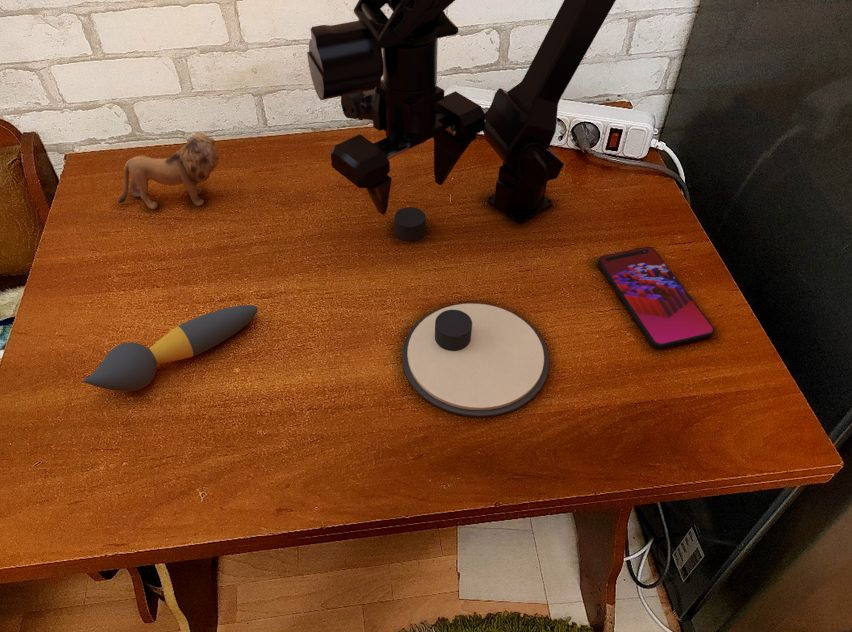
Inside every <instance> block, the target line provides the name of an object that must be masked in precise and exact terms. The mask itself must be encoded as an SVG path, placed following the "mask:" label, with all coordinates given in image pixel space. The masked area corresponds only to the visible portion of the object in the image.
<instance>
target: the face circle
mask: <svg viewBox="0 0 852 632" xmlns="http://www.w3.org/2000/svg"><path fill="white" fill-rule="evenodd" d="M447 310H460V311H462V312H464V313H466V314H467V315H468V316H469V317H470V318H471V320H472V332H471V341H470V343H469V344H468V346H467V347H465V348H464V349H462V350H458V351H449V350H445V349H443V348H441V347H440V346H439V345H438V344H437V343H436V341H435V321H436V318H437V316H438V315H439V314H440V313H442V312H444V311H447ZM401 362H402V368H403V372H404V374H405V375H404V376H405V377H406V379H407V381H408V383H409V384H410V385H411V388H413V390H414V391H415V392H416V393H417V394H418V395H419V396H420V397H421V398H422V399H424V401H426V402H427V403H429V404H430V405H432V406H433V407H436V408H438V409H440V410H441V411H444V412H447V413H449V414H453V415H456V416H460V417H467V418H491V417H492V418H493V417H498V416H503V415H505V414H508V413H511V412H515V411H516V410H519V409H521V408H523V406H526V405H527V404H528V403H529V402H531V401H532V400H533V399H534V398H535V397H536V396H537V395H538V394H539V392H541V390H542V388H543V386H544V385H545V383H546V380H547V378H548V374H549V369H550V357H549V352H548V348H547V345H546V343H545V341H544V339H543V338H542V336H541V334H540V333H539V332H538V330H537V328H535V327H534V326H533V325H532V324H531V323H530V322H528V321H527V320H526V319H525V318H523V317H522V316H521V315H519V314H517V313H515V312H513V311H512V310H509V309H507V308H504V307H500V306H498V305H494V304H490V303H483V302H462V303H461V302H460V303H454V304H450V305H445V306H442V307H440V308H438V309H434V310H433V311H431V312H429V313H427V314H426V315H424V316H423V317H421V318H420V319H419V320H418V321H417V322H416V323H415V324H414V325H413V326H412V327H411V328H410V330H409V332H408V333H407V335H406V337H405V339H404V342H403V345H402V350H401Z"/></svg>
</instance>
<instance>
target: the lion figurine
mask: <svg viewBox="0 0 852 632" xmlns="http://www.w3.org/2000/svg"><path fill="white" fill-rule="evenodd" d="M219 159H220V153H219V151H218V147H217V145H216V143H215V139H214V138H213V137H210V136H209V135H206V134H205V133H203V132H200V133H195V134H193V135H191V136H189V137H188V140H187V142H186V143H185V144H184V145H183V146H182V147H181V148H179V150H176V151H175V152H174V153H173V154H172V155H171V156H170V157H166V158H153V157H150V156H147V155H137V156H134V157H131V158H130V159H128V160H127V161H126V162H125V164H124V167H123V185H124V186H123V187H124V188H123V189H124V190H123V194H122V195H121V196H120V197H119V199H118V200H117V204H124V203H125V202H126V200H127V198H128V194H129V188H130V193H131V195H132V196H133V197H135V198H138V197H140V198H141V200H143V202H144V203H145V204H146V206H147V207H148V208H149V209H150V210H157V209H158V208H159V204H158V202H156V201H152V200H151V199H150V198H149V195H148V190H149V180H150V181H153V182H156V183H158V184H160V185H164V186H179V185H182V186H183V187H185V189H186V191H187V193H188V194H189V197H190V200H191V201H192V203H193V204H194V205H195V206H197V207H201V206H203V205H204V200H203V199H202V198H200V197H199V196H198V195H200V194H201V193H202V189H201V187H197V184H200V183H202V182H206V181H208V180H209V178H210V175H211V173H212V172H213V171H214V169H215V168H216V167H218V163H219ZM130 176H131V179H129V178H130ZM137 188H138V189H137Z"/></svg>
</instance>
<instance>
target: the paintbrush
mask: <svg viewBox="0 0 852 632" xmlns="http://www.w3.org/2000/svg"><path fill="white" fill-rule="evenodd" d="M258 311H259V308H258V307H257V306H256V305H253V304H242V305H240V304H239V305H234V306H229V307H226V308H221V309H218V310H215V311H211V312H209V313H208V312H207V313H205V314H202V315H200V316H197V317H194V318H192V319H190V320H187V321H185V322H183V323H181V324H179V325H176V326H175V327H174V328H173V329H171V330H170V331H168V332H167V333H166V334H165V335H163V336H162V337H161V338H160V339H158V340H157V341H156V342H155V343H154V344H152V345H151V346H150V347H149V348H148V347H147V346H145V345H143V344H141V343H139V342H131V341H130V342H129V341H128V342H122V343H120V344H117V345H116V346H114V347H113V348H112V349H111V350H110V351H109V352H108V353H107V354H106V356H104V358H103V359H102V361H101V362H100V363H99V365H98V367H96V369H95V370H94V371H93V372H92V373H91V374H90V375H88V376H87V377H86V378H84V379H83V380H81V383H83V384H88V385H91V386H94V387H97V388H101V389H104V390H109V391H116V392H118V391H120V392H132V391H133V392H134V391H139V390H142V389H143V388H145V387H147V386H148V385H149V384H150V383H151V382H152V380H154V377H155V375H156V373H157V365H159V364H165V363H171V362H175V361H181V360H184V359H190V358H193V357H195V356H198V355H199V354H203V353H204V352H206V351H209V350H210V349H213V348H214V347H216V346H217V345H219V344H221V343H222V342H224V341H226V340H228V339H230V338H231V337H232V336H234V335H235V334H237V333H238V332H239V331H241V330H242V329H243V328H244V327H246V326H247V325H248V324H249V323H251V321H252V320H253V319H254V318H255V316H256V315H257V313H258Z"/></svg>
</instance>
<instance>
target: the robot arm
mask: <svg viewBox="0 0 852 632" xmlns="http://www.w3.org/2000/svg"><path fill="white" fill-rule="evenodd" d="M455 1H456V0H358V1H357V3H356V4H355V6H354V8H353V14H354V15H355V16H356V17H357V20H354V21H349V22H344V23H337V24H332V25H331V24H329V25H328V24H321V25H315V26H311V28H310V37H311V39H309V41H308V51H307V52H306V54H307V55H306V56H307V62H308V68H309V74H310V77H311V81H312V85H313V88H314V91H315V93H316V95H317V98H318V99H319V100H320V101H326V100H329V99H334V98H339V97H340V106H341V109H342V113H343V115H344V117H346V118H347V119H351V120H359V121H363V120H368V121H372V127H373V128H374V129H375V130H377V131H379V132H382V131H383V132H384V133H385V137H384V138H382V139H380V140H378V141H375V142H372V141H371V140H369V139H368V138H366V137H365V136H363V135H362V134H357V135H355V136H353V137H351V138H348V139H346V140H344V141H342V142H340V143H337V144H335V145H334V146H333V147H332V148H331V150H330V161H331V168H333V169H334V170H335V171H337V172H338V173H339V174H340V175H342V176H343V177H344V178H346V180H348V181H349V182H351V184H353V185H354V186H356V187H357V188H358V189H366V191H367V193H368V195H369V197H370V199H371V201H372V203H373V205H374V208H376V211H377V212H378V213H379V214H380V215H382V216H385V215H386V213H387V210H388V206H389V201H390V193H391V187H392V179H393V178H392V177H391V176H389V173H390V172H391V166H390V165H391V163H390V159H392V158H394V157H396V156H399V155H400V154H402V153H405V152H407V151H409V150H410V149H413V148H415V147H417V146H419V145H421V144H423V143H425V142H427V141H428V140H430V139H432V140H433V174H434V183H436V184H437V185H439V186H443V185H444V183H445V182H446V180H447V179H448V177H449V175H450V174H451V172H452V170H453V169H454V167H455V166H456V164H457V163H458V161H459V160H460V158H461V157H462V156H463V154H464V153H465V151H466V150H467V148H469V146H470V144H471V143H472V142H473V141H475V140H476V139H477V134H479V133H481V132H482V133H483V136H484V139H485V141H486V142H487V143H488V145H489V146H490V147H491V149H493V150H494V152H495V153H496V154H497V156H498V157H499V158H500V160H502V165H500V166H499V167H498V175H497V176H498V177H497V180H496V182H495V191H494V193H492V194H491V195H489V196H487V197H486V202H487V203H488V204H489V205H491V206H493V208H496V209H497V210H499V211H500V212H501V213H502V214H504V215H506V216H507V217H508V218H510V219H511V220H513V221H514V222H516V223H517V224H523V223H525V222H527V221H528V220H530V219H531V218H534V217H535V216H537V215H539V214H540V213H542V212H544V211H546V210H547V209H549V208H551V207H552V206H553V203H554V201H553V200H552V199H551V198H549V197H548V196H546V190H547V186H548V182H549V181H553V180H556V179H558V177H559V175H560V173H561V171H562V170H563V167H564V166H565V164H564V162H563V161H562V160H561V159H560V158H559V156H557V154H556V153H555V152H554V151H553V150H552V149H551V148H550V145H551V144H552V141H553V139H554V136H555V135H556V131H557V122H558V121H557V120H558V109H559V104H560V100H561V99H562V96H563V94H564V93H565V91H566V90H567V87H569V84H570V83H571V81H572V78H574V75H575V73H576V71H577V70H578V69H579V66H580V65H581V64H582V61H583V60H584V58H585V56H586V54H587V53H588V50H589V48H591V45H592V43H593V41H594V40H595V38H596V37H597V35H598V33H599V31H600V30H601V28H602V26H603V24H604V22H605V21H606V20H607V19H606V18H607V17H608V15H609V14H610V11H611V10H612V8H613V6H615V5H614V4H615V3H616V1H617V0H563V1H562V3H561V6H560V7H559V9H558V11H557V13H556V15H555V17H554V19H553V20H552V23H551V25H550V27H549V29H548V30H547V32H546V34H545V36H544V38H543V40H542V41H541V44H540V46H539V48H538V49H537V52H536V53H535V55H534V57H533V59H532V60H531V63H530V65H529V67H528V69H527V71H526V73H525V74H524V77H523V78H522V80H521V81H520V82H519V83H518V84H516V85H515V86H513V87H512V88H510V89H509V90H507V91H506V89H505V90H504V88H501V87H500V88H497V90H496V91H495V93H494V95H493V98H492V102H491V103H490V105H489V108H488V109H487V110H486V112H485V111H484V109H483V107H482V106H481V105H480V104H479V103H476V102H475V101H473V100H471V99H470V98H468V97H466V96H465V95H463V94H461V93H460V92H459V91H452V92H451V93H448V94H446V95H445V89H443V88H442V87H440V86H439V85H438V84H437V83H438V52H439V51H438V49H439V47H438V46H439V39H441V38H445V37H450V36H451V37H452V36H455V35H457V34H458V33H459V28H458V27H457V25H456V24H455V23H454V22H453V21H452V20H451V19H450V18H449V17H448V16H447V15H446V13H445V10H446V9H448V8H449V7H450V5H452V4H453V3H454V2H455ZM386 5H387V6H388V8H389V9H390V10H391V11H392V12H391V15H390V16H389V17H388V16H387V15H386V14H385V12H384V11H383V10H382V9H383V7H384V6H386ZM382 77H383V79H382Z"/></svg>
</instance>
